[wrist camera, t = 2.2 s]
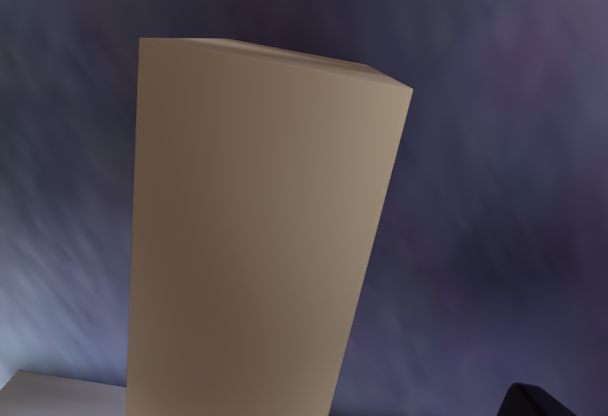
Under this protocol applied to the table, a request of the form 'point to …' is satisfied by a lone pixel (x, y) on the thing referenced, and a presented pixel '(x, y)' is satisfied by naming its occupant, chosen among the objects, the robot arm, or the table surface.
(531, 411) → the robot arm
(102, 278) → the table surface
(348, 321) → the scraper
